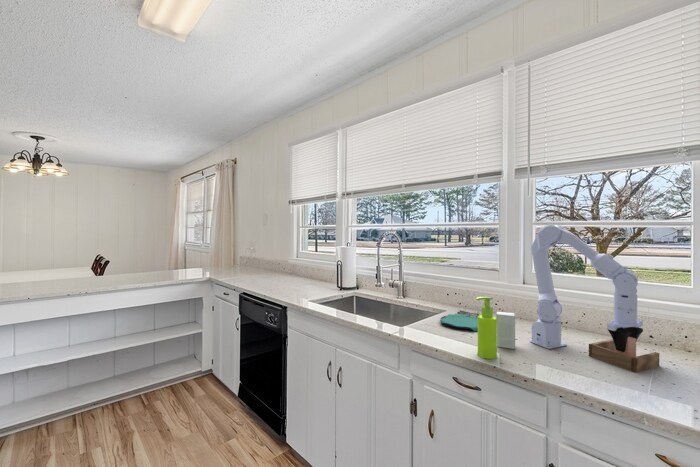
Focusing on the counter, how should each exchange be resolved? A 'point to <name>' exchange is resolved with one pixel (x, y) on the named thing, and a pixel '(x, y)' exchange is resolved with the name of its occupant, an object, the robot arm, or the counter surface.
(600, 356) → the open-sided box
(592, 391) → the counter surface
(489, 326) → the soap dispenser
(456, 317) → the teal flat rounded piece
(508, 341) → the skincare box
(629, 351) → the terracotta block
